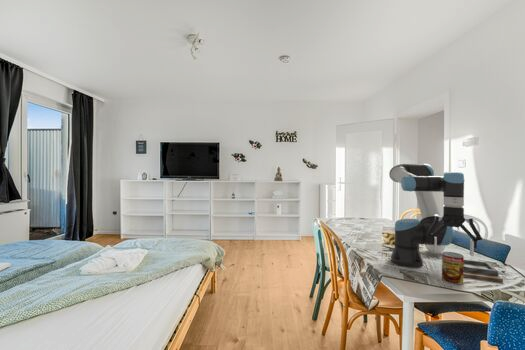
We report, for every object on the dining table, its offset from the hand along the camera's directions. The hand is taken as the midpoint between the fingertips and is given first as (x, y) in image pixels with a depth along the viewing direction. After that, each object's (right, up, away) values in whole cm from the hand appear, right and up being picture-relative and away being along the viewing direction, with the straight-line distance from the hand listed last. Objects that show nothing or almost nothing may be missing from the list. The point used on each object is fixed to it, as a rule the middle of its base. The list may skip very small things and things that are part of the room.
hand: (453, 253), depth 118 cm
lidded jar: (+19, -12, +41) cm, 47 cm away
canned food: (0, -13, 0) cm, 13 cm away
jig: (+17, -12, +10) cm, 23 cm away
